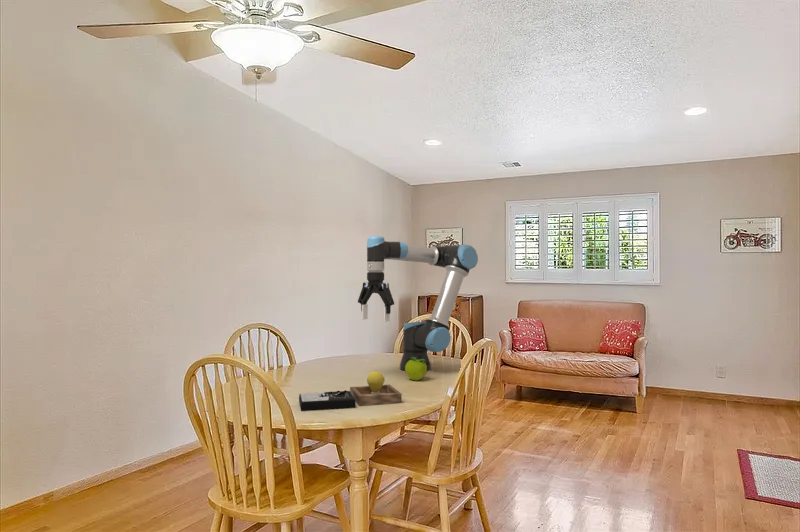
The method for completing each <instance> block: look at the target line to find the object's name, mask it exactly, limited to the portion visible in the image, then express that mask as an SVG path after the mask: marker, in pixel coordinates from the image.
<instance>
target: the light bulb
mask: <svg viewBox="0 0 800 532" xmlns="http://www.w3.org/2000/svg"><path fill="white" fill-rule="evenodd" d="M366 383H367V386H369V387H370V388H371V390H372V391H373V392H371V395H375V394H380V392H379V390H380V389H381V387H382V385H384V383H385V376H384V374H383V373H382V372H380V371H379V370H377V371H376V370H374V371H370V373H369V374H368V375H367V377H366Z"/></svg>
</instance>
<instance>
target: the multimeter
mask: <svg viewBox="0 0 800 532" xmlns="http://www.w3.org/2000/svg"><path fill="white" fill-rule="evenodd" d="M298 403H299V407H300V412H307V411H308V412H310V411H327V410H328V411H329V410H343V409H344V410H345V409H355V408H356V402H355V399H354V397H353V395H352V394H351V392H350V390H342V391H340V390H336V391H319V392H302V393H299V394H298Z"/></svg>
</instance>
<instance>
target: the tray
mask: <svg viewBox="0 0 800 532" xmlns="http://www.w3.org/2000/svg"><path fill="white" fill-rule="evenodd" d="M349 391H350V392H351V394H352V395H353V397H354V399H355V404H357V405H358V406H359V407H364V406H374V405H375V406H376V405H377V406H379V405H389V404H390V405H391V404H401V403H402V402H403V401H402V400H403V399H402V396H403V395H402V393H401V392H400V391H399V390H397V389H396V388H395V387H394V386H393V385H391V384H389V383H387V384H383V385H382V387H381V389H380V390H379V392H380V394H375V395H371V392H373V391H372V390H371V388H370V387H369V385H362V386H358V385H357V386H349Z"/></svg>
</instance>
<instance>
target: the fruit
mask: <svg viewBox="0 0 800 532" xmlns="http://www.w3.org/2000/svg"><path fill="white" fill-rule="evenodd" d="M409 358H412V359H411V360H409V361H408V362H407V364H406V366H405V371H404V372H405V373H406V375H407V376H408V378H410V380H411V381H420V380H422V379H423V378H425V376H426V374H427V373H428V372H427V371H428V370H427V366H426V363H425V362H424V361H423V360H424V359H420V360H417V359H416V358H415V357H409ZM425 361H426V360H425Z"/></svg>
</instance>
